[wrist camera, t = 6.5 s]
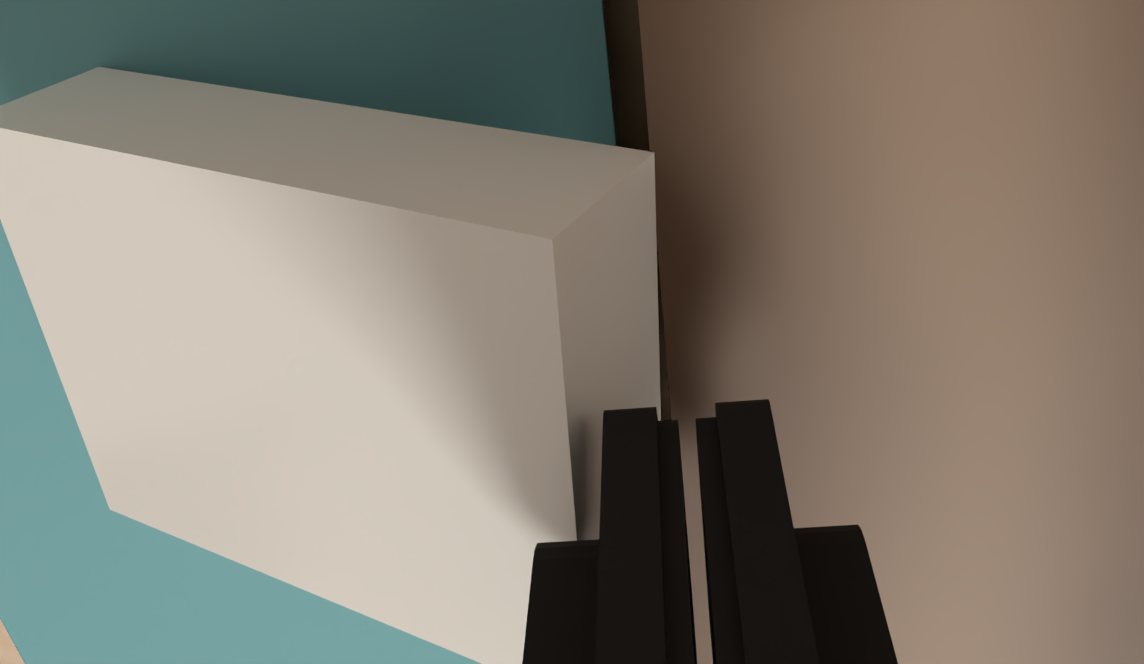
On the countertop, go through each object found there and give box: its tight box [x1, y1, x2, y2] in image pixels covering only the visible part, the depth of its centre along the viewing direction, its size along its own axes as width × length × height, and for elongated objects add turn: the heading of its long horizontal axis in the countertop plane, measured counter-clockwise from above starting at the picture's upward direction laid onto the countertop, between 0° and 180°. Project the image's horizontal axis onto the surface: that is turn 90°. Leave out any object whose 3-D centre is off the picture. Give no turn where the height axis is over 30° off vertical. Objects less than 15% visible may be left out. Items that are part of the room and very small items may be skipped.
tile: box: [0, 67, 661, 664], centre depth 13 cm, size 8×6×2 cm
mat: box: [0, 0, 617, 664], centre depth 16 cm, size 12×18×1 cm, turn 6°
